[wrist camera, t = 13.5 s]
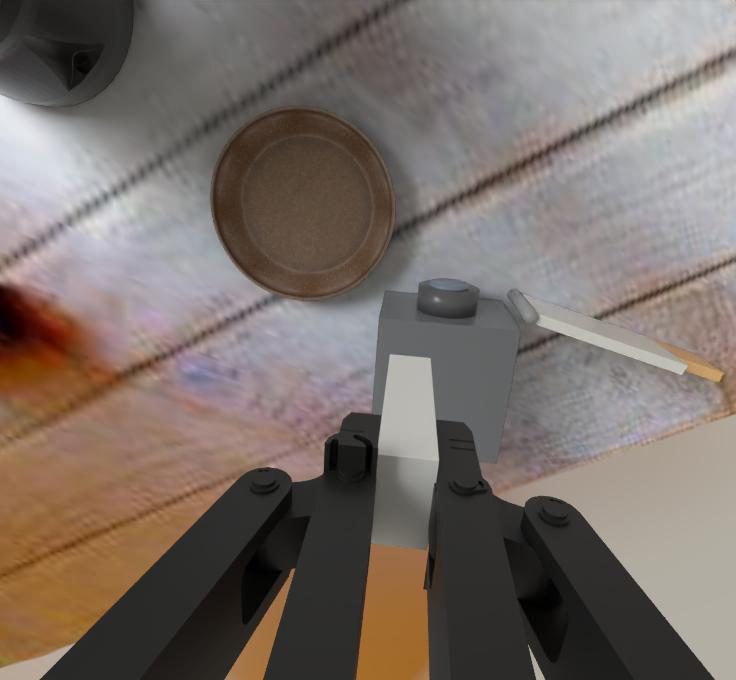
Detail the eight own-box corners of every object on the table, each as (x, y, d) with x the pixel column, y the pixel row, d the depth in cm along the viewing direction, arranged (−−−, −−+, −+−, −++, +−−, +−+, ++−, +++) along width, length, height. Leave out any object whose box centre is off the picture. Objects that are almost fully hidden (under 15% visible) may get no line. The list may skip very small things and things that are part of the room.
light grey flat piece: (505, 298, 41) (522, 322, 35) (510, 287, 41) (528, 309, 34) (685, 360, 41) (733, 394, 35) (692, 350, 41) (741, 383, 35)
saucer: (271, 317, 44) (262, 326, 41) (190, 158, 40) (175, 157, 37) (423, 255, 41) (423, 261, 38) (352, 75, 37) (348, 69, 34)
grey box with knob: (387, 266, 41) (380, 291, 33) (505, 276, 40) (528, 304, 32) (376, 406, 46) (368, 458, 38) (482, 416, 45) (497, 472, 37)
